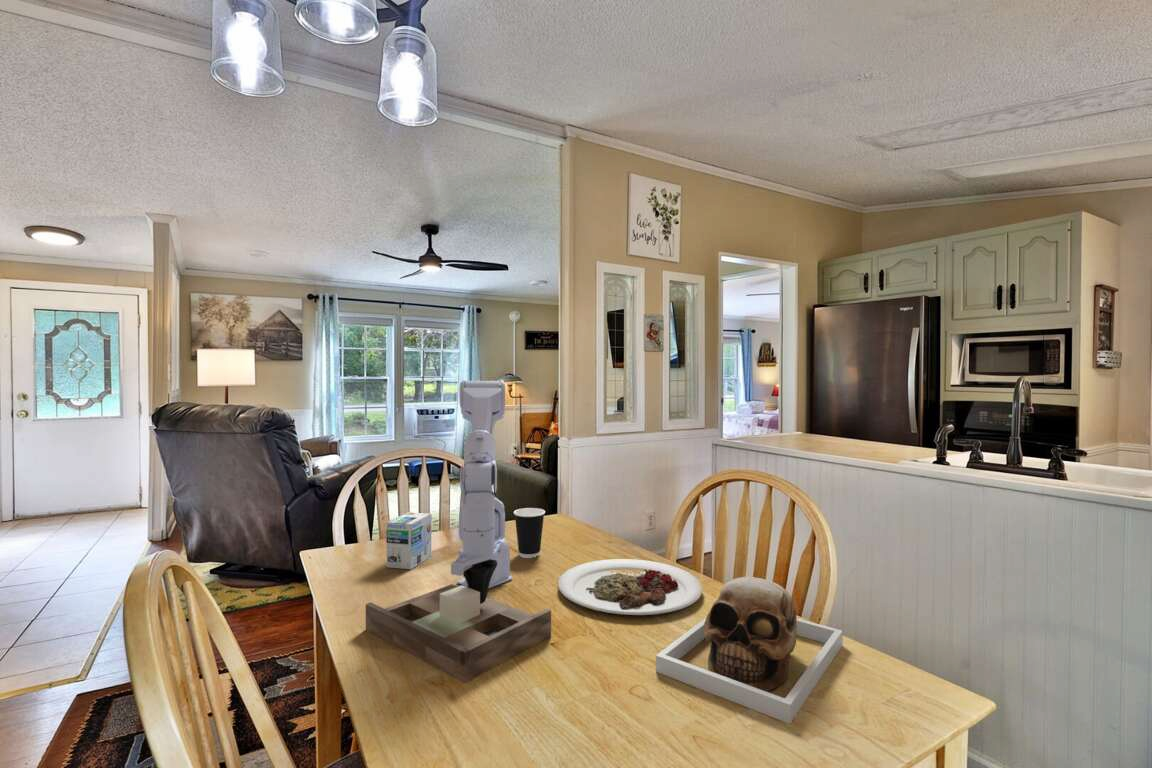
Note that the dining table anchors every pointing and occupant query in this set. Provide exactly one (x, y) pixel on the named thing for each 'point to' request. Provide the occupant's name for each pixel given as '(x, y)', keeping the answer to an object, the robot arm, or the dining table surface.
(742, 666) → the brown skull figurine
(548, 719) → the dining table surface
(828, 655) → the tray
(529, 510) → the dixie cup
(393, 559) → the light bulb box
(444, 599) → the cream block
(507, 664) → the dining table surface
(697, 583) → the plated food
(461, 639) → the brown wooden tray
